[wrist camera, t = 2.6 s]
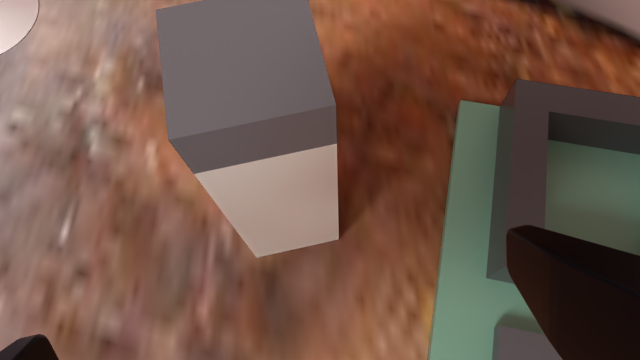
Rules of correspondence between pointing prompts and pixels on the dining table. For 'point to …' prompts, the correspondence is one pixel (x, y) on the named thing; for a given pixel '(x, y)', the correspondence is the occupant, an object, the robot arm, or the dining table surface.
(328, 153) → the two-tone square block
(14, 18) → the champagne flute
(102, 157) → the dining table surface
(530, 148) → the circuit board
